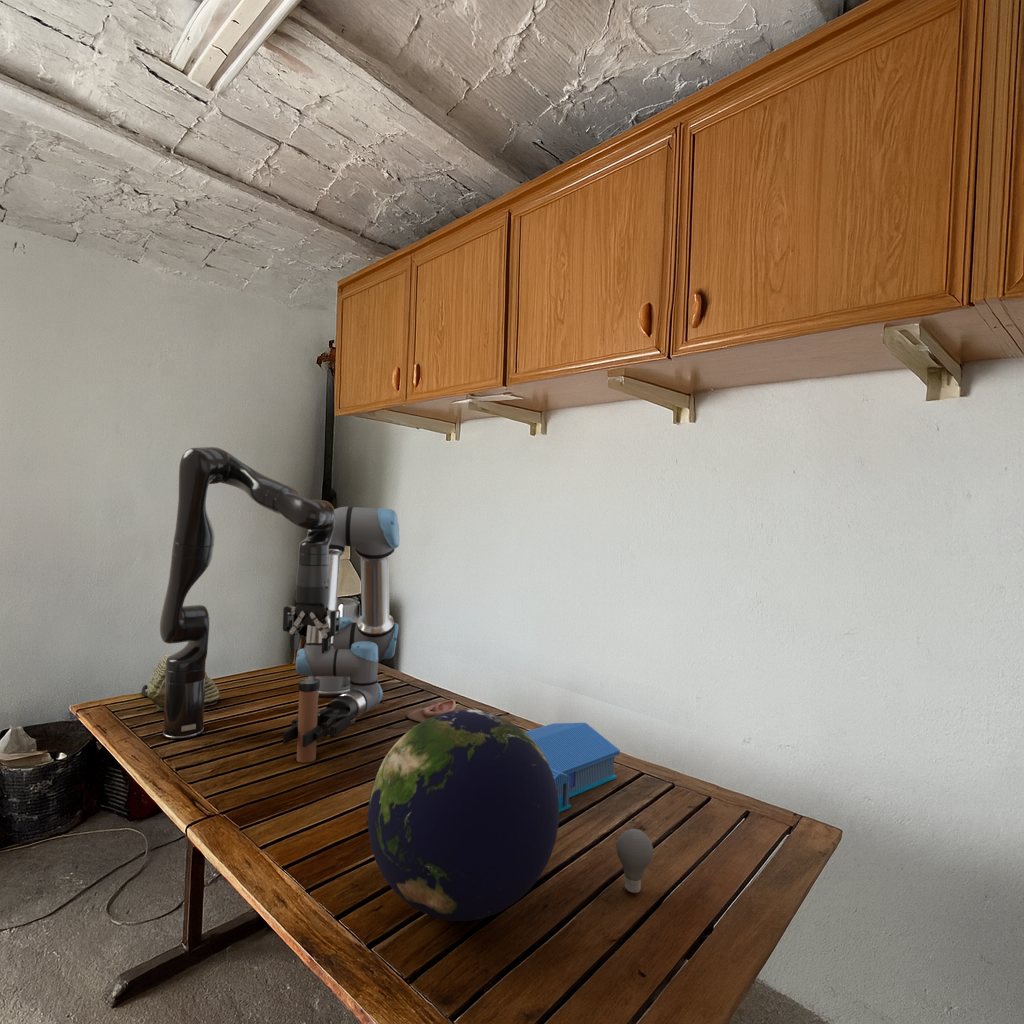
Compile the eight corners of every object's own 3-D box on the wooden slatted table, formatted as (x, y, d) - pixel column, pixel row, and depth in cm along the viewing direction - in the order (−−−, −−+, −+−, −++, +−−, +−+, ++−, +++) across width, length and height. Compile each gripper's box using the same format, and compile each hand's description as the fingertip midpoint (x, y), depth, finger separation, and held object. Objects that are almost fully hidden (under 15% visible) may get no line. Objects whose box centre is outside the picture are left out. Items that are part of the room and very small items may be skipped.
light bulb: (610, 879, 108) (613, 822, 108) (644, 879, 109) (647, 822, 109) (619, 902, 102) (622, 840, 102) (655, 901, 103) (658, 840, 103)
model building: (501, 837, 120) (504, 785, 120) (427, 790, 139) (429, 744, 138) (628, 782, 147) (630, 739, 147) (552, 748, 165) (553, 710, 165)
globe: (322, 932, 92) (330, 728, 92) (425, 835, 120) (432, 678, 119) (512, 1001, 81) (522, 769, 81) (577, 877, 109) (585, 703, 108)
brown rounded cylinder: (296, 763, 150) (299, 686, 149) (296, 756, 154) (299, 680, 153) (316, 761, 151) (319, 685, 151) (315, 754, 155) (318, 679, 155)
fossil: (144, 707, 182) (145, 655, 182) (212, 696, 194) (213, 647, 194) (151, 716, 175) (153, 662, 175) (221, 703, 188) (223, 653, 188)
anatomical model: (403, 706, 181) (417, 694, 192) (402, 720, 181) (416, 707, 192) (447, 711, 178) (459, 699, 189) (447, 725, 178) (458, 712, 189)
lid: (298, 692, 149) (298, 684, 149) (298, 685, 154) (298, 678, 154) (320, 690, 151) (320, 683, 150) (319, 684, 155) (319, 677, 155)
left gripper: (277, 582, 150) (274, 651, 150) (331, 587, 146) (329, 657, 147) (295, 579, 157) (292, 645, 157) (347, 583, 154) (345, 650, 154)
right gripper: (374, 727, 167) (327, 761, 145) (316, 718, 172) (260, 750, 149) (375, 698, 167) (328, 728, 145) (317, 690, 172) (262, 718, 149)
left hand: (310, 651), depth 152 cm, fingers open, 7 cm apart
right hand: (294, 739), depth 147 cm, fingers closed on brown rounded cylinder, 4 cm apart
